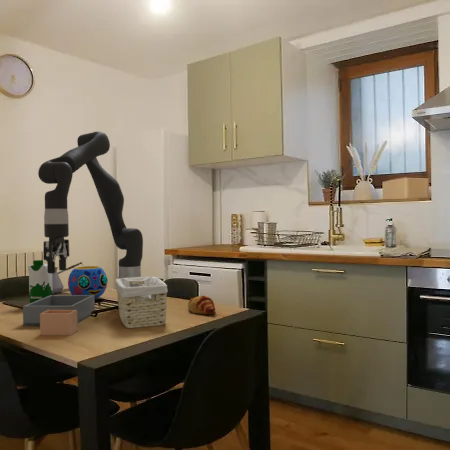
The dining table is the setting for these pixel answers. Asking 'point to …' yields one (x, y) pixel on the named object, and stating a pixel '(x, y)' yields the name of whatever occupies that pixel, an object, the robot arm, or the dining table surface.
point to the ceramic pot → (87, 281)
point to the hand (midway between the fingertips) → (57, 271)
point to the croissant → (201, 305)
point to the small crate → (58, 322)
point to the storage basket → (142, 301)
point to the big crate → (58, 307)
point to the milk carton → (39, 281)
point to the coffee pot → (56, 281)
